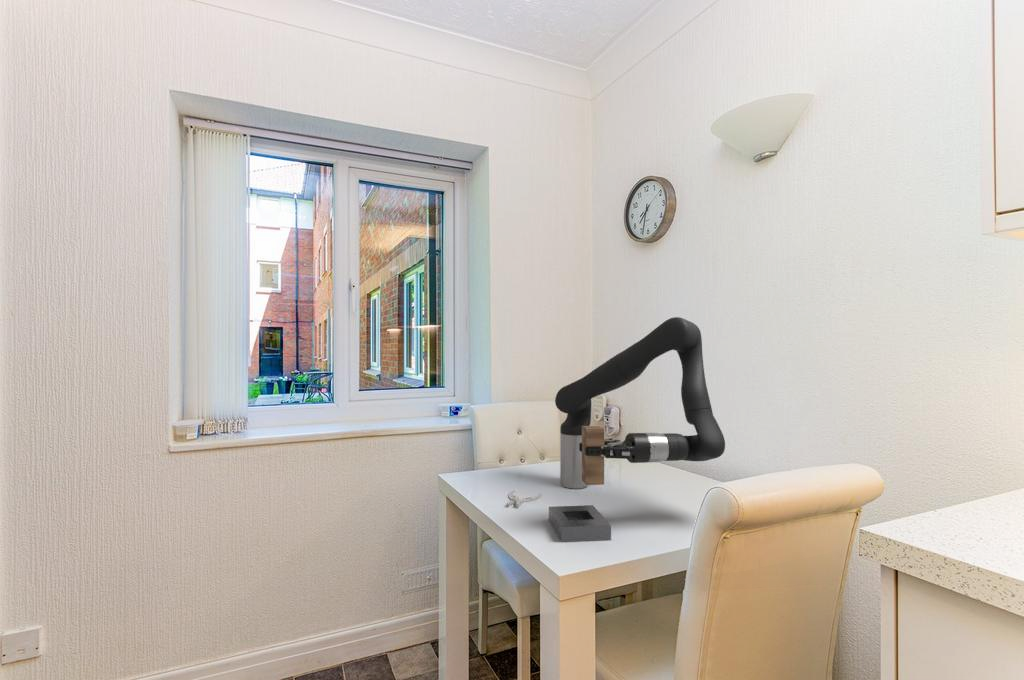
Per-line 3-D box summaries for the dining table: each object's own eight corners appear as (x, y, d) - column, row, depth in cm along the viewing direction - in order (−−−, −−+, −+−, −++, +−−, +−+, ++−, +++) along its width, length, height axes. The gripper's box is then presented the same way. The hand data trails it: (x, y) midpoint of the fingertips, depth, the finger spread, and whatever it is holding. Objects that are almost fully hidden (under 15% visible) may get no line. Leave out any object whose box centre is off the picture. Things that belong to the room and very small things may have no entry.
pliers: (542, 490, 151) (528, 505, 137) (542, 496, 151) (528, 511, 137) (512, 488, 154) (496, 501, 140) (512, 493, 154) (496, 507, 140)
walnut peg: (581, 480, 125) (581, 426, 126) (598, 479, 126) (598, 425, 126) (586, 485, 121) (586, 428, 121) (604, 484, 122) (604, 428, 122)
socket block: (548, 520, 128) (548, 506, 128) (592, 518, 130) (592, 505, 130) (561, 542, 113) (561, 527, 114) (611, 540, 115) (611, 525, 115)
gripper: (635, 428, 133) (574, 429, 130) (658, 438, 119) (590, 439, 116) (635, 456, 133) (574, 457, 130) (658, 468, 118) (590, 470, 116)
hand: (582, 449), depth 123 cm, fingers closed on walnut peg, 4 cm apart
